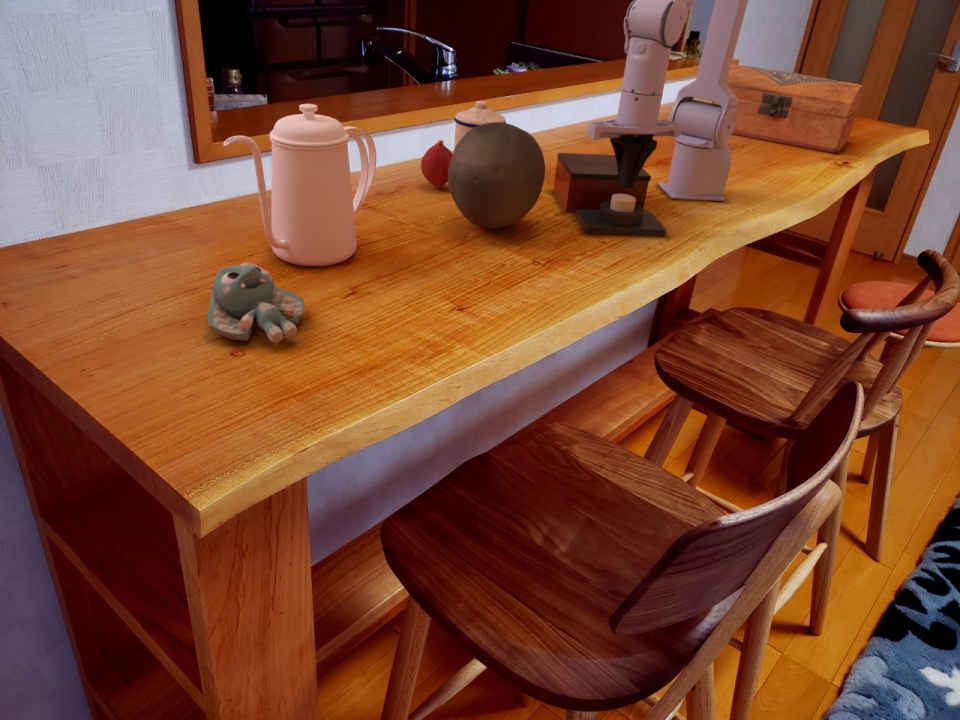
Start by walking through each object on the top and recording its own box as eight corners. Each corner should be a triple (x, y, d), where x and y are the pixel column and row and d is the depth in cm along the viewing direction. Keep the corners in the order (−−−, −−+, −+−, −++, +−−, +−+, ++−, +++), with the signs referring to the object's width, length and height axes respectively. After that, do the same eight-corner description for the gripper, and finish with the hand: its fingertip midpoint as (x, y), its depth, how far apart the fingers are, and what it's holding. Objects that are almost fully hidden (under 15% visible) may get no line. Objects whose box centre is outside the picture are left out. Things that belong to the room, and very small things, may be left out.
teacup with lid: (474, 178, 131) (479, 109, 125) (441, 165, 136) (444, 98, 130) (523, 168, 138) (530, 103, 132) (490, 156, 143) (495, 93, 137)
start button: (629, 206, 115) (632, 194, 114) (636, 214, 112) (638, 202, 111) (607, 205, 115) (609, 193, 114) (613, 213, 112) (615, 201, 111)
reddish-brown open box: (642, 215, 120) (649, 180, 117) (565, 213, 118) (570, 177, 116) (624, 194, 129) (630, 160, 126) (553, 191, 128) (557, 157, 125)
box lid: (650, 181, 117) (651, 176, 116) (571, 178, 115) (571, 173, 115) (630, 160, 126) (631, 155, 126) (557, 157, 125) (557, 152, 124)
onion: (413, 186, 125) (414, 137, 120) (437, 180, 128) (439, 133, 124) (437, 195, 121) (439, 146, 117) (462, 189, 125) (465, 141, 121)
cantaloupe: (430, 215, 113) (434, 113, 106) (514, 208, 118) (524, 111, 111) (465, 251, 102) (473, 140, 95) (556, 242, 108) (570, 136, 100)
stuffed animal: (237, 318, 70) (178, 254, 76) (237, 375, 75) (182, 310, 81) (334, 289, 77) (273, 233, 83) (329, 344, 81) (271, 286, 87)
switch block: (648, 218, 119) (652, 200, 118) (664, 237, 112) (668, 218, 111) (575, 216, 118) (577, 197, 116) (586, 234, 111) (589, 215, 109)
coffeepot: (206, 272, 91) (186, 113, 81) (344, 218, 109) (340, 84, 100) (272, 297, 86) (258, 132, 77) (403, 237, 105) (406, 98, 95)
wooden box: (702, 129, 176) (716, 67, 169) (722, 118, 188) (736, 59, 181) (836, 156, 163) (857, 89, 156) (848, 142, 175) (868, 80, 168)
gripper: (669, 85, 111) (652, 175, 117) (583, 85, 105) (570, 179, 112) (697, 95, 105) (677, 189, 112) (608, 96, 100) (593, 195, 107)
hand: (625, 186), depth 112 cm, fingers closed
